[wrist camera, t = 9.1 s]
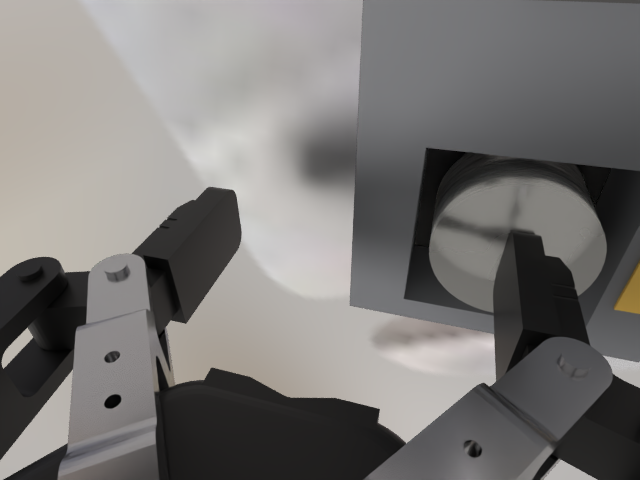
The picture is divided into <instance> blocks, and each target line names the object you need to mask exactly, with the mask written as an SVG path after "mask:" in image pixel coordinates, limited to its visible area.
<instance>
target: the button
mask: <svg viewBox="0 0 640 480" xmlns="http://www.w3.org/2000/svg"><path fill="white" fill-rule="evenodd" d="M511 231H512V232H519V233H526V234H533V235H540V236H541V237H542V241H543V246H544V251H545V255H546V256H553V257H559V258H560V259H561V260H562V261H563V262H564V264H565V265H566V266H567V267H568V268H569V269H570V271H571V272H572V276H573V280H574V283H575V289H576V291H577V295H578V296H579V295H580V294H582V293H583V292H584V291H585V290H586V289H587V288H588V287H590V286H591V284H592V283H593V282H594V281H595V280H596V278H597V277H598V275H599V273H600V272H601V270H602V267H603V265H604V262H605V258H606V253H607V243H606V238H605V234H604V231H603V228H602V226H601V223H600V221H599V218H598V215H597V213H596V210H595V208H594V205H593V202H592V200H591V197H590V195H589V192H588V189H587V187H586V184H585V182H584V179H583V177H582V174H581V172H580V171H579V169H578V168H577V166H576V165H575V164H571V163H562V162H553V161H544V160H535V159H526V158H516V157H507V156H498V155H489V154H480V153H471V152H469V153H467V154H466V155H464V156H463V157H462V158H460V159H459V160H458V161H457V162H456V163H454V164H453V165H452V166H451V168H450V169H449V170H448V171H447V173H446V174H445V176H444V177H443V179H442V181H441V183H440V185H439V188H438V192H437V196H436V203H435V210H434V217H433V224H432V231H431V238H430V246H429V258H430V263H431V267H432V269H433V272H434V274H435V276H436V277H437V279H438V281H439V282H440V283H441V284H442V286H443V287H444V288H445V289H446V290H447V291H448V292H449V293H450V294H452V295H453V296H455V297H456V298H457V299H459V300H461V301H462V302H464V303H466V304H468V305H470V306H473V307H475V308H478V309H481V310H484V311H488V312H493V288H494V282H495V277H496V273H497V270H498V267H499V264H500V260H501V257H502V254H503V251H504V248H505V244H506V241H507V238H508V235H509V233H510V232H511ZM493 313H494V312H493Z"/></svg>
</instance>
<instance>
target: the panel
mask: <svg viewBox="0 0 640 480" xmlns="http://www.w3.org/2000/svg"><path fill="white" fill-rule="evenodd" d="M428 148H434V149H443V150H452V151H462V152H471V153H480V154H489V155H498V156H507V157H516V158H526V159H535V160H544V161H553V162H562V163H571V164H580V165H589V166H599V167H608V168H612V169H611V172H610V174H609V176H608V179H607V181H606V183H605V185H604V188H603V190H602V192H601V195H600V197H599V199H598V201H597V204H596V206H595V210H596V213H597V215H598V218H599V221H600V223H601V226H602V228H603V231H604V234H605V238H606V243H607V253H606V258H605V262H604V265H603V267H602V270H601V272H600V273H599V275H598V277H597V278H596V280H595V281H594V282H593V283H592V284H591V286H590V287H588V288H587V289H586V290H585V291H584V292H583V293H582V294H580V295H579V296H578V302H579V303H580V307H581V311H582V315H583V319H584V322H585V326H586V330H587V334H588V338H589V342H590V346H591V347H593V348H594V349H596V350H597V351H598V352H599V353H600V354H601V355H604V356H609V357H614V358H619V359H624V360H629V361H634V362H639V361H640V0H363V13H362V35H361V58H360V81H359V104H358V127H357V150H356V172H355V195H354V218H353V241H352V264H351V286H350V306H354V307H359V308H365V309H370V310H375V311H380V312H385V313H390V314H395V315H400V316H405V317H410V318H415V319H421V320H426V321H431V322H436V323H441V324H446V325H451V326H456V327H461V328H466V329H471V330H477V331H482V332H487V333H492V334H494V313H493V312H488V311H484V310H481V309H478V308H475V307H473V306H470V305H468V304H466V303H464V302H462V301H461V300H459V299H457V298H456V297H455V296H453V295H452V294H450V293H449V292H448V291H447V290H446V289H445V288H444V287H443V286H442V284H441V283H440V282H439V281H438V279H437V277H436V276H435V274H434V272H433V269H432V267H431V263H430V258H429V247H423V246H417V245H414V241H415V234H416V228H417V221H418V214H419V208H420V201H421V194H422V188H423V181H424V175H425V168H426V161H427V155H428Z"/></svg>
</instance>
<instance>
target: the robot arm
mask: <svg viewBox="0 0 640 480" xmlns="http://www.w3.org/2000/svg"><path fill="white" fill-rule="evenodd" d="M240 242H241V225H240V218H239V211H238V204H237V197H236V194H235V192H234V191H233V190H229V189H222V188H215V187H208V188H207V189H206V190H205V191H204V192H203V193H202V194H201V195H200V196H199V197H198V198H197V199H196V200H191V201H189V202H188V203H185V204H183V205H182V206H180V207H178V208H177V209H176V210H175V211H174V212H173V213H172V214H171V215H170V216H169V217H168V219H167V220H165V221H164V222H163V223H162V224H161V225H160V227H159V228H157V229H156V230H155V231H154V232H153V233H152V234H151V235H150V236H149V237H148V238H147V239H146V240H145V241H144V242H143V243H142V244H141V245H140V246H139V247H138V248H137V249H136V250H135V251H134V252H133V253H132V254H119V255H114V256H111V257H108V258H106V259H104V260H102V261H100V262H99V263H97V264H96V265H95V266H94V267H93V268H92V269H91V271H87V272H68V273H64V270H63V268H62V266H61V264H60V263H59V261H58V260H56V259H54V258H50V257H38V258H33V259H29V260H26V261H24V262H21V263H19V264H17V265H15V266H14V267H12V268H11V269H10V270H8V271H7V272H6V273H5V274H3V275H2V276H1V277H0V460H1V459H2V457H3V456H4V455H5V454H6V452H7V451H8V450H9V448H10V447H11V446H12V445H13V443H14V442H15V441H16V439H17V438H18V437H19V436H20V435H21V433H22V432H23V431H24V430H25V428H26V427H27V426H28V425H29V423H30V422H31V421H32V420H33V418H34V417H35V416H36V415H37V413H38V412H39V411H40V410H41V408H42V407H43V406H44V404H45V403H46V402H47V401H48V400H49V398H50V397H51V396H52V395H53V393H54V392H55V391H56V390H57V388H58V387H59V386H60V385H61V383H62V382H63V381H64V379H65V378H66V377H67V376H68V374H69V373H70V372H71V371H72V369H73V378H72V393H71V407H70V421H69V435H68V443H67V444H66V445H64V446H62V447H60V448H59V449H57V450H55V451H53V452H51V453H50V454H48V455H46V456H44V457H43V458H41V459H39V460H37V461H36V462H34V463H32V464H31V465H28V466H27V467H25V468H23V469H21V470H20V471H18V472H16V473H14V474H13V475H11V476H9V477H7V478H6V479H4V480H543V479H544V478H545V477H546V476H547V474H549V472H550V471H551V470H552V469H553V468H554V467H555V466H556V464H558V462H559V461H560V460H563V461H565V462H567V463H568V464H570V465H572V466H574V467H576V468H578V469H580V470H581V471H583V472H585V473H587V474H588V475H590V476H592V477H594V478H596V479H598V480H640V388H638V387H636V386H634V385H632V384H629V383H627V382H625V381H623V380H622V379H620V378H618V377H617V376H615V375H614V374H613V373H612V369H611V367H610V365H609V363H608V362H607V360H606V359H605V358H604V357H603V356H602V355H601V354H600V353H599V352H598V351H597V350H596V349H594V348H593V347H591V346H590V342H589V338H588V334H587V330H586V326H585V322H584V319H583V315H582V311H581V307H580V303H579V302H578V295H577V291H576V289H575V283H574V280H573V276H572V272H571V271H570V269H569V268H568V267H567V266H566V265H565V264H564V262H563V261H562V260H561V259H560V258H559V257H553V256H546V255H545V251H544V246H543V241H542V237H541V236H540V235H533V234H526V233H519V232H512V231H511V232H510V233H509V235H508V238H507V241H506V244H505V248H504V251H503V254H502V257H501V260H500V264H499V267H498V270H497V273H496V277H495V282H494V288H493V312H494V337H495V363H496V382H495V383H494V384H493V385H492V386H490V387H489V386H488V385H486V384H485V383H481V384H479V385H477V386H476V387H474V388H473V389H472V390H471V391H470V392H469V393H467V394H466V395H465V396H463V397H462V398H461V399H460V400H459V401H458V402H456V403H455V404H454V405H453V406H451V407H450V408H449V409H448V410H447V411H445V412H444V413H443V414H442V415H441V416H439V417H438V418H437V419H436V420H435V421H433V422H432V423H431V424H430V425H428V426H427V427H426V428H425V429H424V430H422V431H421V432H420V433H419V434H418V435H416V436H415V437H414V438H413V439H412V440H411V441H409V442H408V443H407V444H406V442H404V441H403V440H402V439H401V438H400V437H399V436H397V435H396V434H395V433H394V432H392V431H391V430H389V429H388V428H386V427H384V426H382V425H381V424H379V423H378V418H379V411H380V409H377V408H373V407H369V406H365V405H361V404H357V403H353V402H349V401H345V400H341V399H337V398H290V397H286V396H284V395H282V394H280V393H278V392H276V391H275V390H273V389H271V388H269V387H267V386H265V385H263V384H262V383H260V382H258V381H256V380H255V379H253V378H251V377H248V376H244V375H240V374H236V373H232V372H227V371H223V370H219V369H215V368H211V369H210V371H209V373H208V374H207V376H206V378H205V380H198V381H190V382H185V383H181V384H177V385H175V380H174V374H173V367H172V360H171V353H170V346H169V339H168V333H167V330H166V326H167V325H168V323H169V322H170V320H172V321H177V322H182V323H187V322H188V320H189V319H190V317H191V316H192V314H193V313H194V312H195V310H196V309H197V307H198V306H199V304H200V303H201V301H202V300H203V299H204V297H205V295H206V294H207V293H208V292H209V290H210V289H211V287H212V286H213V284H214V283H215V281H216V280H217V278H218V277H219V275H220V274H221V273H222V271H223V270H224V268H225V267H226V266H227V264H228V263H229V261H230V260H231V259H232V257H233V256H234V254H235V253H236V251H237V250H238V248H239V245H240ZM27 327H28V329H29V331H30V332H31V334H32V336H33V339H32V340H31V341H30V342H29V343H28V344H27V345H26V346H25V347H24V348H23V349H22V350H21V351H20V352H19V353H18V354H17V356H15V358H14V359H13V360H12V361H11V362H10V363H9V364H8V365H7V366H6V367H5V368H4V369H3V368H2V363H1V362H2V357H3V354H4V352H5V350H6V349H7V348H8V346H10V345H11V343H12V342H13V341H14V340H15V339H16V338H17V337H18V336H19V335H20V334H21V333H22V332H23V331H24V330H25V329H26V328H27Z"/></svg>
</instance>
